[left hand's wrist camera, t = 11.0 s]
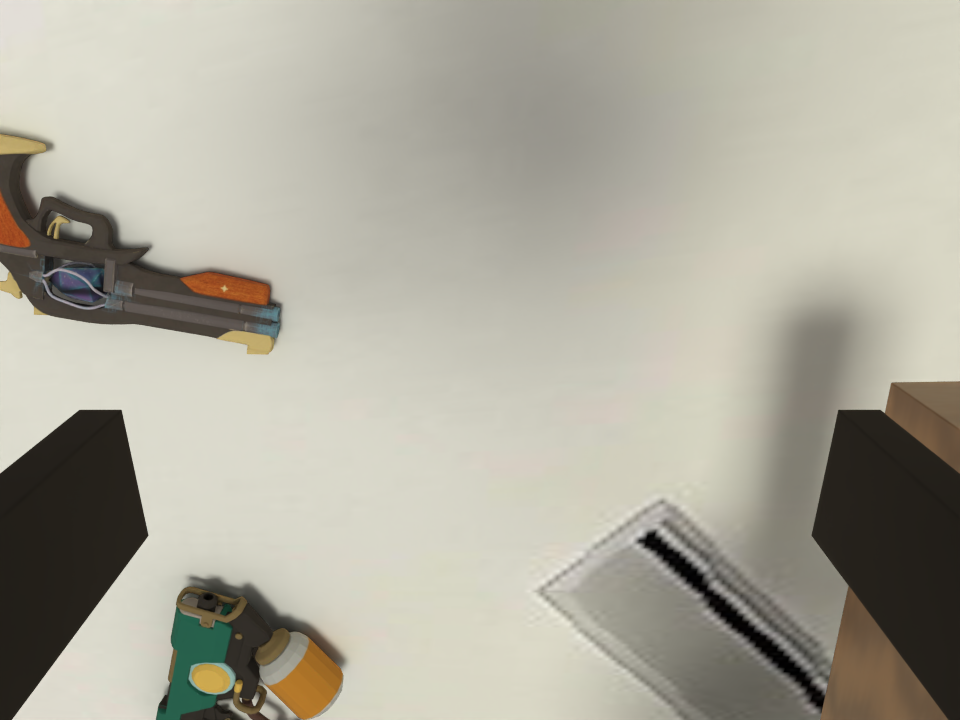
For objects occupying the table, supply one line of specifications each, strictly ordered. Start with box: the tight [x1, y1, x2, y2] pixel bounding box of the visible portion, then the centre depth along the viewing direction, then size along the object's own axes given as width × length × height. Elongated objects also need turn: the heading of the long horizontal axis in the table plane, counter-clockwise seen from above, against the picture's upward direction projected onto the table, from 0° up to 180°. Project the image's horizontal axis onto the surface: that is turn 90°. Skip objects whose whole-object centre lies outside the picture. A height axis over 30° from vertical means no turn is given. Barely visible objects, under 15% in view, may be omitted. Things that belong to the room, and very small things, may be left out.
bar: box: [820, 381, 960, 720], centre depth 30 cm, size 22×6×8 cm, turn 1°
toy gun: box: [0, 134, 280, 354], centre depth 40 cm, size 3×19×10 cm
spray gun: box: [156, 587, 344, 720], centre depth 52 cm, size 4×17×15 cm
